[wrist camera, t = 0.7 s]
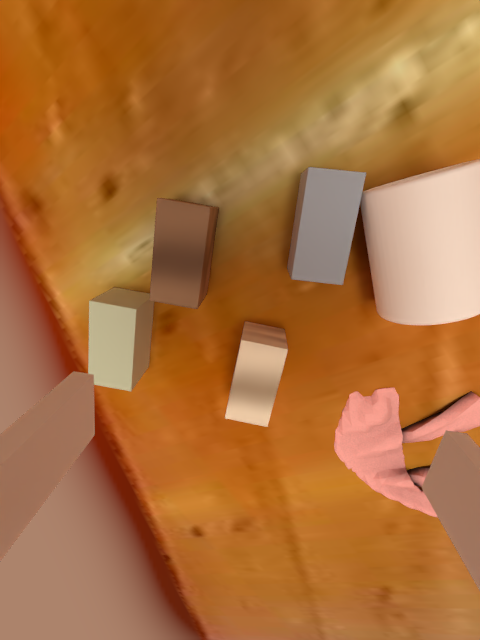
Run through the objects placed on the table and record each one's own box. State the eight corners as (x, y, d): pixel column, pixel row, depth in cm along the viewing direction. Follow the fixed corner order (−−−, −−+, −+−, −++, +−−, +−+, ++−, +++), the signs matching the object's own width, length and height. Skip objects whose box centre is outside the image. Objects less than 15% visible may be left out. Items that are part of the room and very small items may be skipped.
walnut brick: (174, 199, 29) (157, 197, 24) (219, 207, 29) (210, 207, 24) (166, 286, 31) (149, 300, 27) (207, 293, 31) (197, 309, 27)
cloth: (322, 379, 34) (327, 391, 32) (551, 354, 31) (573, 365, 29) (336, 522, 40) (340, 541, 38) (527, 512, 38) (544, 531, 36)
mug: (365, 304, 30) (398, 335, 23) (347, 195, 28) (378, 190, 20) (503, 271, 29) (588, 293, 21) (499, 150, 26) (597, 127, 18)
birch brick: (244, 320, 32) (241, 339, 27) (284, 328, 32) (288, 349, 27) (230, 389, 35) (224, 418, 30) (266, 397, 35) (267, 427, 30)
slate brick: (300, 173, 27) (308, 166, 23) (348, 178, 27) (366, 172, 22) (286, 267, 30) (291, 279, 25) (330, 272, 30) (342, 284, 25)
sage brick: (115, 286, 32) (89, 300, 27) (155, 294, 32) (136, 309, 27) (112, 359, 34) (88, 383, 30) (149, 366, 34) (131, 391, 30)
